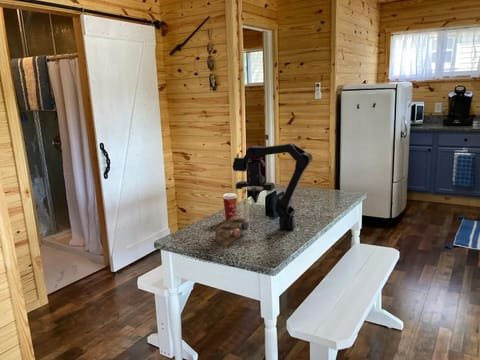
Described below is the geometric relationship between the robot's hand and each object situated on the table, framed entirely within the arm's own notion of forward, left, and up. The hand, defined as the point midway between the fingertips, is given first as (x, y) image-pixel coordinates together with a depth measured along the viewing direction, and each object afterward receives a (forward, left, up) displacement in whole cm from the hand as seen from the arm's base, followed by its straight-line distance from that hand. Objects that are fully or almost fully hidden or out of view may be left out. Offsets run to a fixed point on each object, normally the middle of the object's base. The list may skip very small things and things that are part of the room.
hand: (255, 202), depth 195 cm
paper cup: (+16, -4, -12) cm, 21 cm away
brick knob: (+4, +22, -10) cm, 24 cm away
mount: (+6, +17, -12) cm, 22 cm away
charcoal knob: (+4, +12, -10) cm, 16 cm away
